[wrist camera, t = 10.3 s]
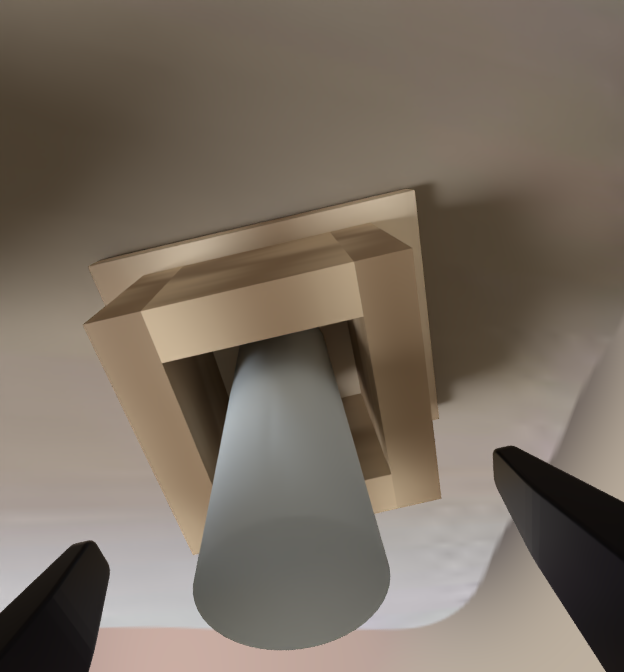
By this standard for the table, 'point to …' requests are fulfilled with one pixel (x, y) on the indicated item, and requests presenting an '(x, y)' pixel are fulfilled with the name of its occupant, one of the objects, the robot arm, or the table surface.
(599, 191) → the table surface
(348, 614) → the peg
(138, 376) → the bottle holder
